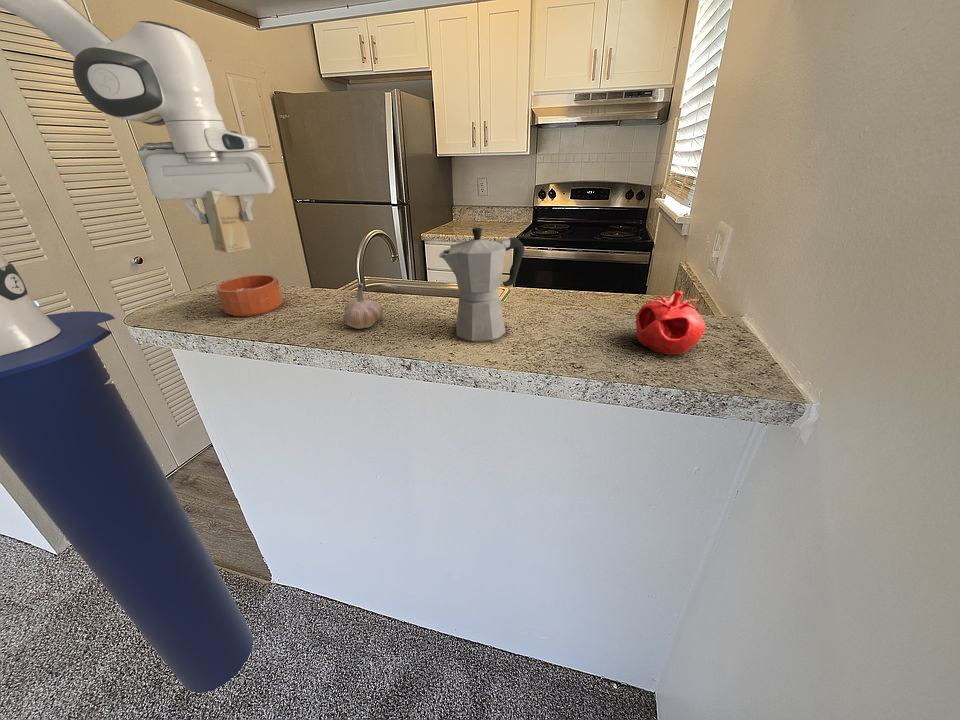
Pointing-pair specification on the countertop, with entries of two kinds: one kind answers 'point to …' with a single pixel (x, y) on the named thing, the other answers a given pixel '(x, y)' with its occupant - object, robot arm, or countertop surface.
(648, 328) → the pomegranate
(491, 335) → the coffeepot
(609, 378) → the countertop surface
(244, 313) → the bowl
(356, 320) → the garlic bulb
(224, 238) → the box
